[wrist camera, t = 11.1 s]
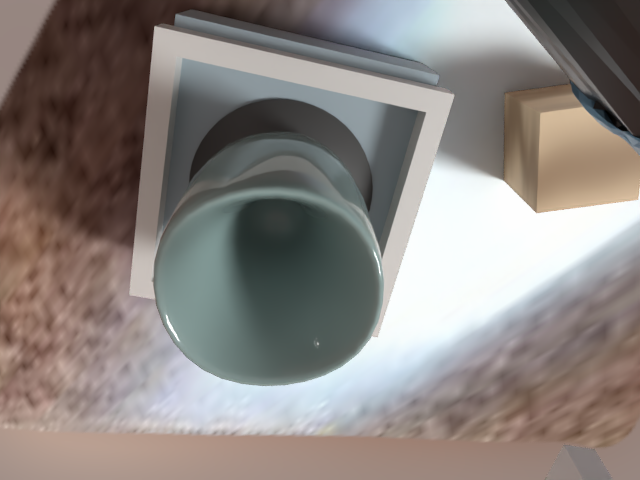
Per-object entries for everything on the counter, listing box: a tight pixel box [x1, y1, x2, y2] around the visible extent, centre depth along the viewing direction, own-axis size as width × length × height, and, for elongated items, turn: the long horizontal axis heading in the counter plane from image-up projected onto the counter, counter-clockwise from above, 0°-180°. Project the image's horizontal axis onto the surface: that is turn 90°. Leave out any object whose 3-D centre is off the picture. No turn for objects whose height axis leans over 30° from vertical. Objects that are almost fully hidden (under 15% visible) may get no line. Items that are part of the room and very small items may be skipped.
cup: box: [153, 131, 384, 386], centre depth 23 cm, size 8×8×10 cm
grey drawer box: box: [129, 9, 455, 337], centre depth 29 cm, size 15×13×6 cm
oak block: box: [504, 84, 640, 213], centre depth 29 cm, size 5×5×5 cm
